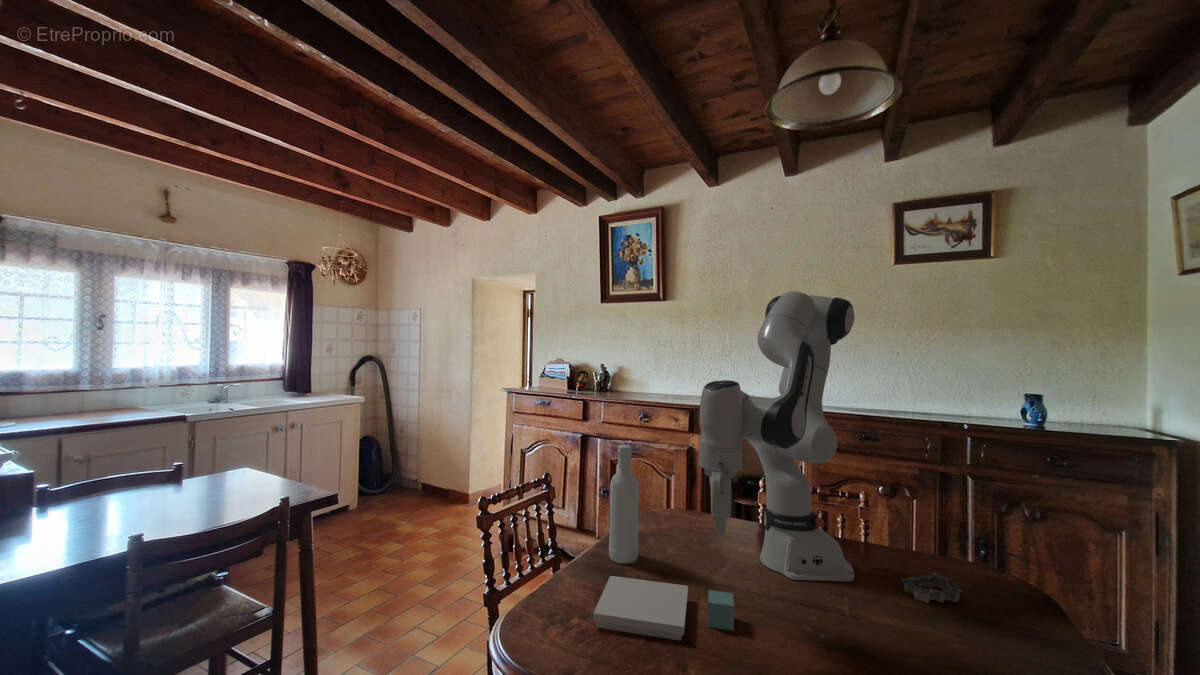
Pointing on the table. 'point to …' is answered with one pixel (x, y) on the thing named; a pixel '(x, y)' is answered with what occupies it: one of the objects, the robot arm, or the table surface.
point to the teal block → (721, 610)
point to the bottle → (624, 510)
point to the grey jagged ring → (925, 584)
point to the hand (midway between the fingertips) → (719, 525)
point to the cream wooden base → (643, 607)
